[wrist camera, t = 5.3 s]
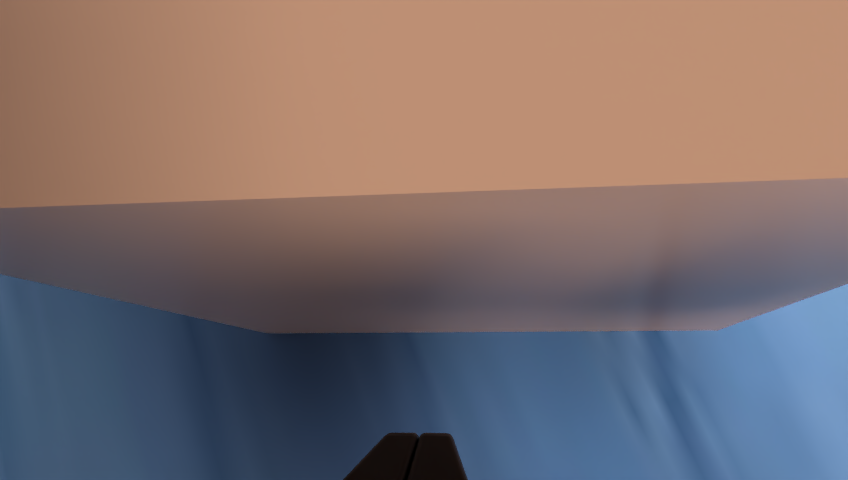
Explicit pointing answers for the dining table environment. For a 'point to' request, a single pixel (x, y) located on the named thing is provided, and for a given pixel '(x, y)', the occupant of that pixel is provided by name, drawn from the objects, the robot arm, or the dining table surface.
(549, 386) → the dining table surface
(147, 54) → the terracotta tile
